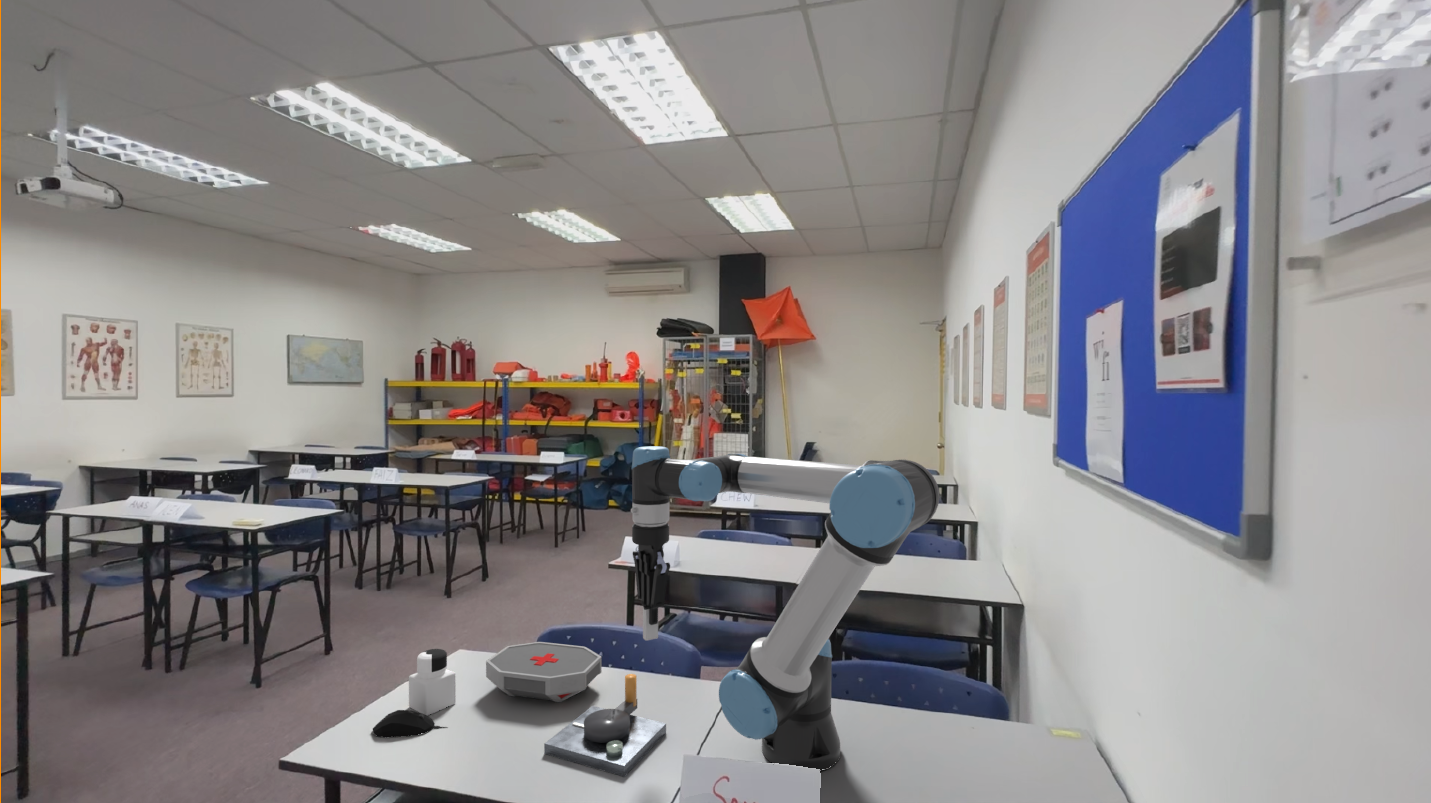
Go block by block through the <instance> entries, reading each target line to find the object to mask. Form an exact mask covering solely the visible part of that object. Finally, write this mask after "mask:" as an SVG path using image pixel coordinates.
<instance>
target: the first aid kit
mask: <svg viewBox="0 0 1431 803" xmlns="http://www.w3.org/2000/svg"><path fill="white" fill-rule="evenodd" d="M485 673H486V674H485V677H486V679H488V680H489V681H490V682H491V683H492V684H493V685H494V686H496V687H497V688H498V689H499V690H500V691H502V692H503V693H505V694H506V695H508V696H509V697H522V698H523V697H524V698H531V699H538V700H545V701H553V702H555V703H562V702H564V701H565V700H567V699H569V698H571V697H573V696H575V695H576V694H579V693H581V692H583V691H585V690H586V689H587V687H588V685H589V684H590V683H592V682H593V680H595V678H596V677H597V676H598V675H600V674H602V655H600V654H598V653H597V652H595V651H593V650H591V648H588V647H586V646H583V645H582V646H581V645H572V644H563V643H555V642H554V643H553V642H546V641H545V642H544V641H535V642H528V643H520V644H513V645H507V646H506V647H504V648H502V649H501V650H500V651H498V652H497V653H496V654H494V655H492V656H491V657H489V658H488V659H487V660H486V661H485Z"/></svg>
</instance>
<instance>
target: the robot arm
mask: <svg viewBox="0 0 1431 803" xmlns="http://www.w3.org/2000/svg"><path fill="white" fill-rule="evenodd" d="M631 460H632V461H631V462H632V464H631V478H632V479H631V481H632V482H631V483H632V484H631V485H632V486H631V488H632V492H631V493H632V500H631V501H632V507H631V508H630V513H631V514H632V518H631V519H632V522H633V524H632V526H631V529H632V530H631V539H632V543H633V544H635V545H638V546H637V550H633V551H632V558H633V562H634V572H635V581H636V582H635V584H636V593H637V599H638V601H639V600H640V602H641V606H642V639H643V640H644V641H652V640H656V639H659V608H664V607H665V601H666V592H667V583H668V575H669V571H670V569H671V564H670V562H666V561H665V560H664V557H665V553H664V548H663V546H665V544H667V543H668V542H669V541H670V524H669V523H668V522H670V498H677V499H683V500H689V501H692V502H710V501H713V500H714V499H715V497H716V496H717V495H719V494H721V493H727V492H728V493H729V492H733V493H737V494H738V493H740V494H749V495H760V496H767V497H774V498H783V499H789V500H790V499H791V500H800V501H805V502H815V503H822V504H829V511H830V513H829V515H828V516H827V518H826V520H825V522H824V528H825V530H826V533H827V537H826V538H825V540H824V542H823V543H822V545H821V547H820V548H819V550H818V552H817V553H816V555H815V557H814V558H813V560H812V562H811V564H810V566H809V567H808V569H807V570H806V572H805V574H804V575H803V577H802V578H801V580H800V582H799V583H798V585H797V586H796V588H795V590H794V591H793V593H792V595H791V596H790V599H789V600H788V601H787V604H785V607H784V608H783V610H782V611H781V613H780V615H779V617H778V618H777V620H776V622H775V623H774V625H773V627H772V629H771V630H770V632H769V633H768V635H767V636H763V637H758V638H757V639H755V641H754V642H753V643H752V644H751V646H750V648H749V649H748V651H747V653H746V654H745V656H744V658H743V659H742V661H741V663H740V664H739V665H738V666H737V667H736V668H735V669H731V670H730V671H728V672H727V673H726V674H725V676H724V677H723V678H722V679H721V681H720V684H719V688H718V699H719V700H718V701H719V704H720V705H721V710H722V713H723V716H724V718H726V720H727V722H728V724H730V726H731V727H732V729H734V730H735V731H736V732H737V733H738V734H740V735H741V736H743V737H744V738H747V739H752V740H755V741H756V740H757V741H758V740H761V751H762V753H763V756H764V757H765V759H766V760H767V761H769V763H771V762H772V763H779V764H789V765H796V766H803V767H808V768H816V769H820V770H821V771H820V772H823V771H822V769H826V768H829V767H830V766H832V765H833V764H835V762H837V761H838V762H839V760H840V758H841V739H840V736H839V733H838V731H837V727H836V724H835V721H834V718H833V714H832V662H833V661H832V658H833V654H832V643H831V640H830V639H829V638H830V637H831V635H832V633H833V632H834V630H835V628H837V625H839V622H840V621H841V619H842V618H843V617H844V615H845V613H846V612H847V611H848V609H849V607H850V605H851V604H852V602H853V601H854V599H855V598H856V596H857V595H858V593H859V592H860V591H861V588H862V587H863V585H864V584H865V582H866V580H867V579H868V578H869V576H870V575H871V573H872V572H873V570H874V568H875V567H881V566H882V567H883V566H887V565H888V564H890V562H891V561H892V560H893V558H894V556H895V555H896V554H897V552H898V550H899V549H900V548H901V546H902V544H903V543H904V541H905V540H906V539H907V537H908V535H909V534H910V533H911V532H913V531H915V530H917V529H919V528H921V527H923V525H925V524H927V523H928V522H929V521H931V519H932V518H933V516H934V515H935V514H936V512H937V509H938V507H939V502H940V490H939V486H938V483H937V481H936V478H934V476H933V474H932V473H931V472H930V471H929V469H927V468H926V467H924V466H923V465H922V464H920V463H918V462H916V461H913V460H908V459H893V460H873V459H872V460H870V459H868V460H866V461H865V462H864V463H863V464H862V465H861V464H848V463H837V462H822V461H809V460H800V459H798V460H797V459H786V458H785V459H784V458H771V457H759V456H747V455H746V454H743V453H728V454H725V455H719V456H710V457H701V458H695V459H682V458H681V459H679V458H678V459H677V458H672V457H671V456H670V449H669V448H668V447H667V446H666V447H665V446H656V445H655V446H654V445H653V446H651V445H650V446H640V447H636V448H635V449H634V450H633V451H632V459H631ZM839 757H840V758H839ZM838 759H839V760H838ZM838 762H837V763H838ZM772 763H771V764H772ZM835 765H836V764H835ZM832 767H833V766H832ZM829 769H830V768H829Z"/></svg>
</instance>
